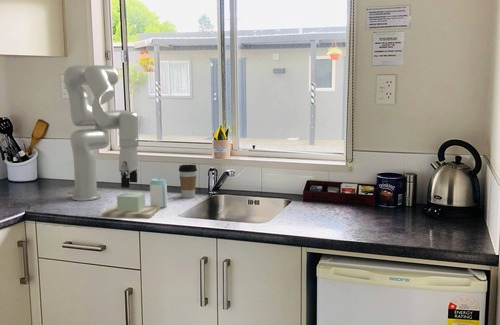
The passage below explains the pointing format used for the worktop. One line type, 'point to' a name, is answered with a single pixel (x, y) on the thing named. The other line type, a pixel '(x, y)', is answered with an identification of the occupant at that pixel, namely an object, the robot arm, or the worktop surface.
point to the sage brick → (131, 202)
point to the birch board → (144, 213)
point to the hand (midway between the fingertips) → (129, 184)
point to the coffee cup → (188, 180)
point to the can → (158, 192)
